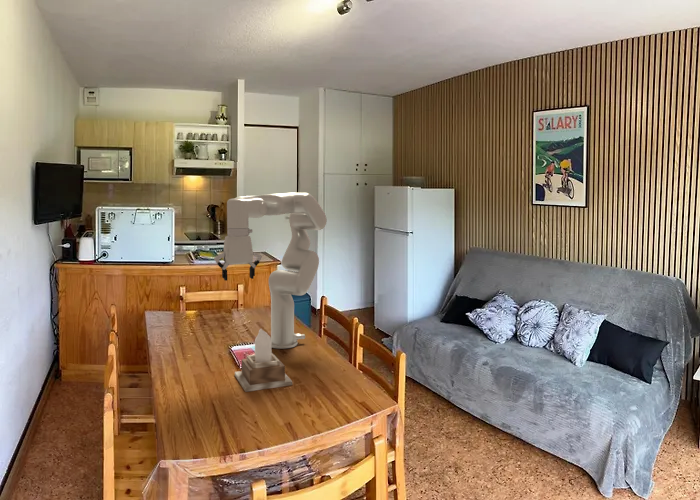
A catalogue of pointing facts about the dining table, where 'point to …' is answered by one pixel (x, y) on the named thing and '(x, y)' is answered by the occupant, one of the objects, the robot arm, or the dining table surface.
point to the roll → (263, 347)
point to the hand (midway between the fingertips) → (238, 279)
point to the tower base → (262, 374)
